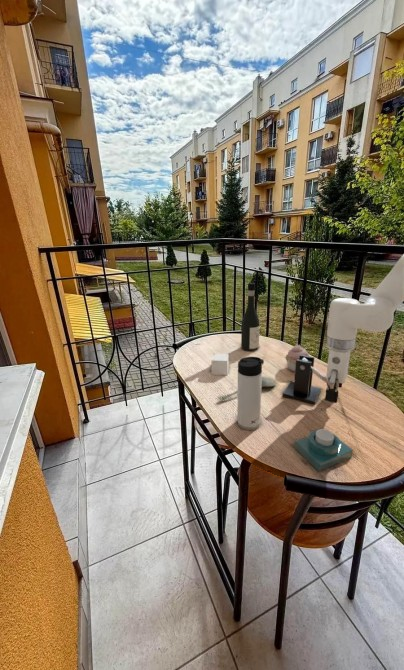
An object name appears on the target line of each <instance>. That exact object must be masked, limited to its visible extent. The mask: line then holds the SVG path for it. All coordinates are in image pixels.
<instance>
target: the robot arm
mask: <svg viewBox="0 0 404 670" xmlns="http://www.w3.org/2000/svg"><path fill="white" fill-rule="evenodd" d="M403 303H404V253H403V254H402V255H401V257H400V258H399V259H398V260H397V261H396V262H395V264H394V266H393V267H392V268H391V270H390V271H389V273H388V274H386V276H385V277H384V278H383V279H382V280H381V282H380V283H379V284H378V285H377V287H376V288H375V289H374V290H373V292H372V293H371V294H369V296H368V298H367V299H366V300H365V302H364V303H361V302H360V301H359V300H357V299H355V298H351V297H338V298H334V299H333V300H331V301H330V305H329V311H328V319H327V320H328V321H327V330H326V339H325V347H326V348H327V349H329V350H328V357H327V365H326V375H325V377H326V379H327V380H328V385H327V384H326V389H325V397H324V400H325V401H326V402H330V403H333V404H337V403H338V398H339V388H341V389H342V388H343V385H344V384H345V383H346V380H347V378H348V375H349V374H348V373H349V367H350V359H351V352H353V351H354V350H355V347H356V340H357V334H358V330H362V331H366V332H369V333H382V332H385V331H387V330H389V329H390V328H391V326H392V325H393V323H394V320H395V318H394V317H395V315H394V313H395V312H396V310H397V309H398V308H399V307H400V306H401V305H402V304H403ZM335 383H337V384H336V385H335Z"/></svg>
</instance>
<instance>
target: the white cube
mask: <svg viewBox="0 0 404 670" xmlns="http://www.w3.org/2000/svg"><path fill="white" fill-rule="evenodd" d="M229 356H230V355H229V354H228V353H213V354H212V357H211V361H210V363H211V375H215V376H216V375H217V376H219V375H220V376H228V374H229V369H230V368H229V367H230V365H229V364H230V363H229V362H230V361H229V358H230V357H229Z"/></svg>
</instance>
